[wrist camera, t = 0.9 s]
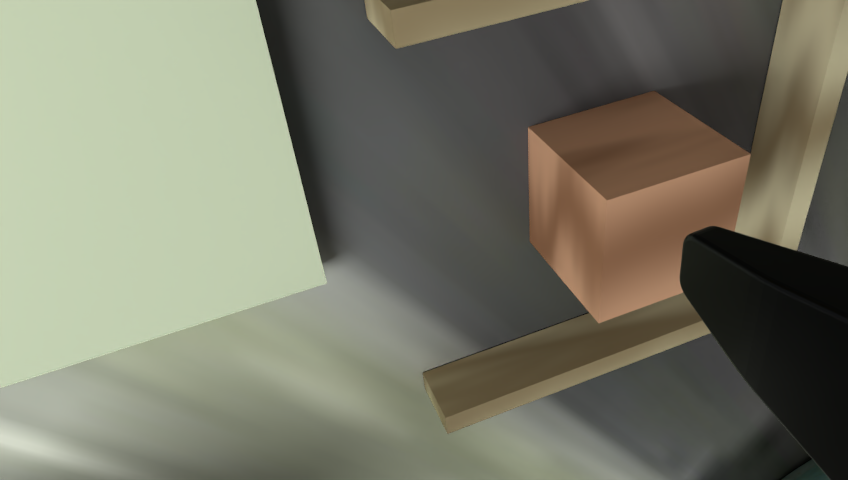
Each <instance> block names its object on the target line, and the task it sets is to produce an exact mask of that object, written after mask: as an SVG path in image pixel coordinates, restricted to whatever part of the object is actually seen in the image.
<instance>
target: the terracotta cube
mask: <svg viewBox="0 0 848 480" xmlns="http://www.w3.org/2000/svg"><path fill="white" fill-rule="evenodd" d="M528 153H529V220H530V242H531V244H532V245H533V246H534V247H535V248H536V250H537V251H538V252H539V253H540V254H541V256H542V257H543V258H544V259H545V260H546V261H547V263H548V264H549V265H550V266H551V267H552V269H553V270H554V271H555V272H556V273H557V275H558V276H559V277H560V278H561V279H562V280H563V282H564V283H565V284H566V285H567V286H568V288H569V289H570V290H571V291H572V292H573V294H574V295H575V296H576V297H577V298H578V299H579V301H580V302H581V303H582V304H583V305H584V307H585V308H586V309H587V310H588V311H589V313H590V314H591V315H592V316H593V317H594V318H595V320H596V321H597V322H598V323H601V322H604V321H607V320H609V319H612V318H615V317H618V316H620V315H623V314H626V313H629V312H631V311H634V310H637V309H640V308H642V307H645V306H648V305H651V304H653V303H656V302H659V301H661V300H664V299H667V298H670V297H672V296H675V295H678V294H681V293H683V290H682V288H681V285H680V267H681V258H682V248H683V242H684V239H685V238H686V236H687V235H689V234H690V233H693V232H695V231H698V230H701V229H703V228H706V227H709V226H717V227H721V228H725V229H728V230H731V231H734V232H735V227H736V222H737V218H738V213H739V208H740V203H741V199H742V194H743V189H744V184H745V180H746V175H747V170H748V165H749V161H750V156H751V154H750V153H748V152H747V151H745V150H744V149H742V148H741V147H739V146H738V145H736V144H735V143H733V142H732V141H730V140H729V139H727V138H726V137H724V136H723V135H721V134H719V133H718V132H716V131H715V130H713V129H712V128H710V127H709V126H707V125H706V124H704V123H703V122H701V121H700V120H698V119H697V118H695V117H694V116H692V115H690V114H689V113H687V112H686V111H684V110H683V109H681V108H680V107H678V106H677V105H675V104H674V103H672V102H671V101H669V100H668V99H666V98H665V97H663V96H661V95H660V94H658V93H657V92H655V91H651V92H648V93H645V94H641V95H638V96H634V97H631V98H627V99H624V100H620V101H617V102H613V103H610V104H607V105H603V106H600V107H596V108H593V109H589V110H586V111H582V112H579V113H575V114H572V115H569V116H565V117H562V118H558V119H555V120H551V121H548V122H544V123H541V124H537V125H534V126H531V127H528Z"/></svg>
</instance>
